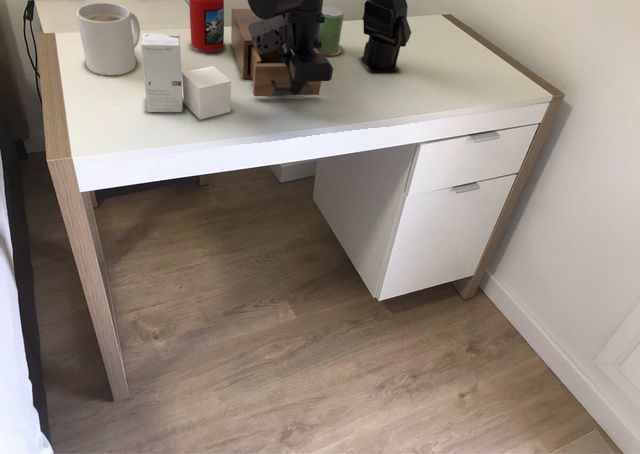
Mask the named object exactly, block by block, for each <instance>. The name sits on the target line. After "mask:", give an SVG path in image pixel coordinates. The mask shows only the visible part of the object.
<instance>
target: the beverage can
mask: <svg viewBox="0 0 640 454" xmlns="http://www.w3.org/2000/svg"><path fill="white" fill-rule="evenodd" d="M188 4H189V5H188V6H189V7H188V8H189V26H190V29H189V30H190V43H191V46H193V47H194V48H195V49H197V50H198V51H201V52H204V53H215V52H218V51H219V50H220V49H222V48H223V47H224V44H225V0H189V1H188Z"/></svg>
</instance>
